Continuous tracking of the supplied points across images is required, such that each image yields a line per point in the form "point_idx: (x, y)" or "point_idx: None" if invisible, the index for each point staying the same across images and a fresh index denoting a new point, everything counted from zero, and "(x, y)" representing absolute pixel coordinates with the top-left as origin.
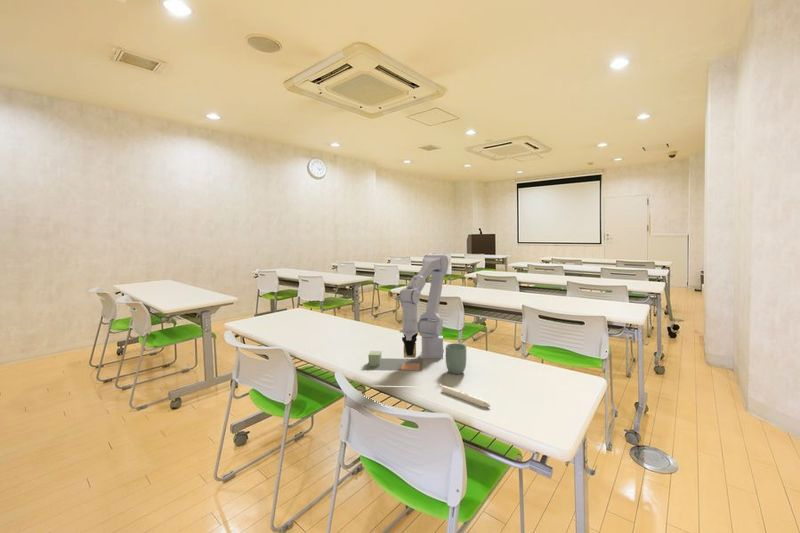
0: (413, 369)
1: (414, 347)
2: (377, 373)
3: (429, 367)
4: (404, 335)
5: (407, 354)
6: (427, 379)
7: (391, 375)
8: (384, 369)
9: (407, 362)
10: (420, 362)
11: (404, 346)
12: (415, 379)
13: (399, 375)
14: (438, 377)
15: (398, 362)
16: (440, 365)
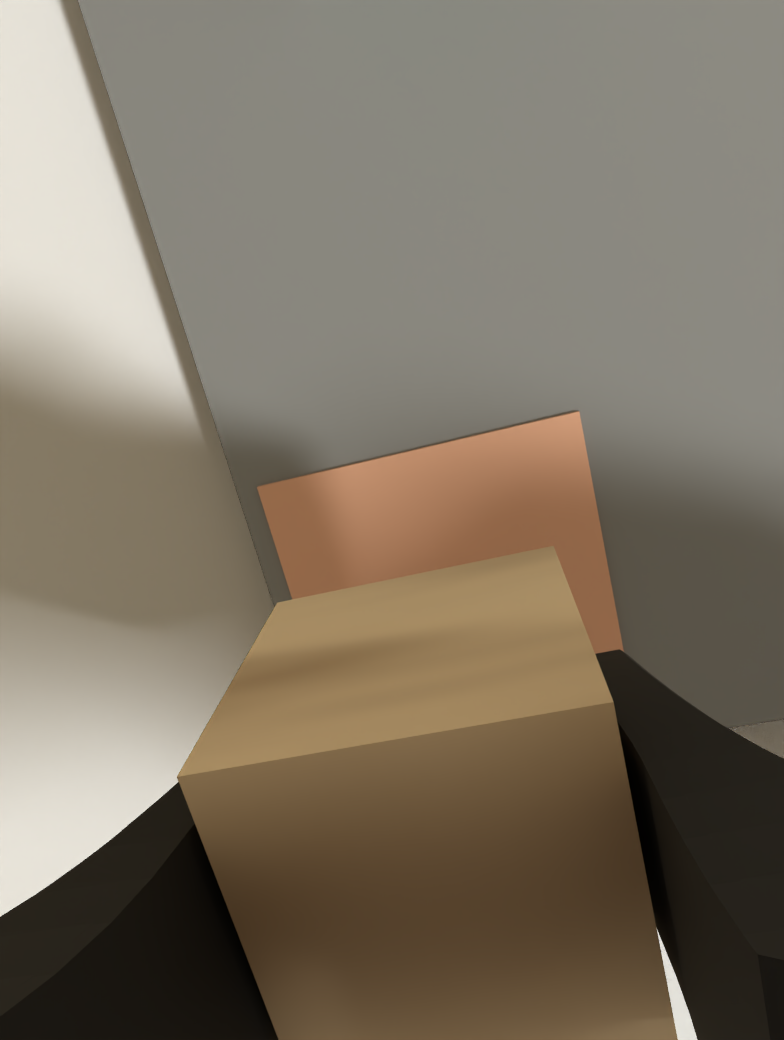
0: None
1: (297, 1034)
2: (15, 95)
3: None
4: (753, 961)
5: None
6: None
7: (44, 388)
8: (170, 174)
9: (646, 488)
10: (691, 703)
11: (194, 795)
12: (64, 757)
13: (97, 511)
14: None
15: (609, 314)
16: (669, 961)
